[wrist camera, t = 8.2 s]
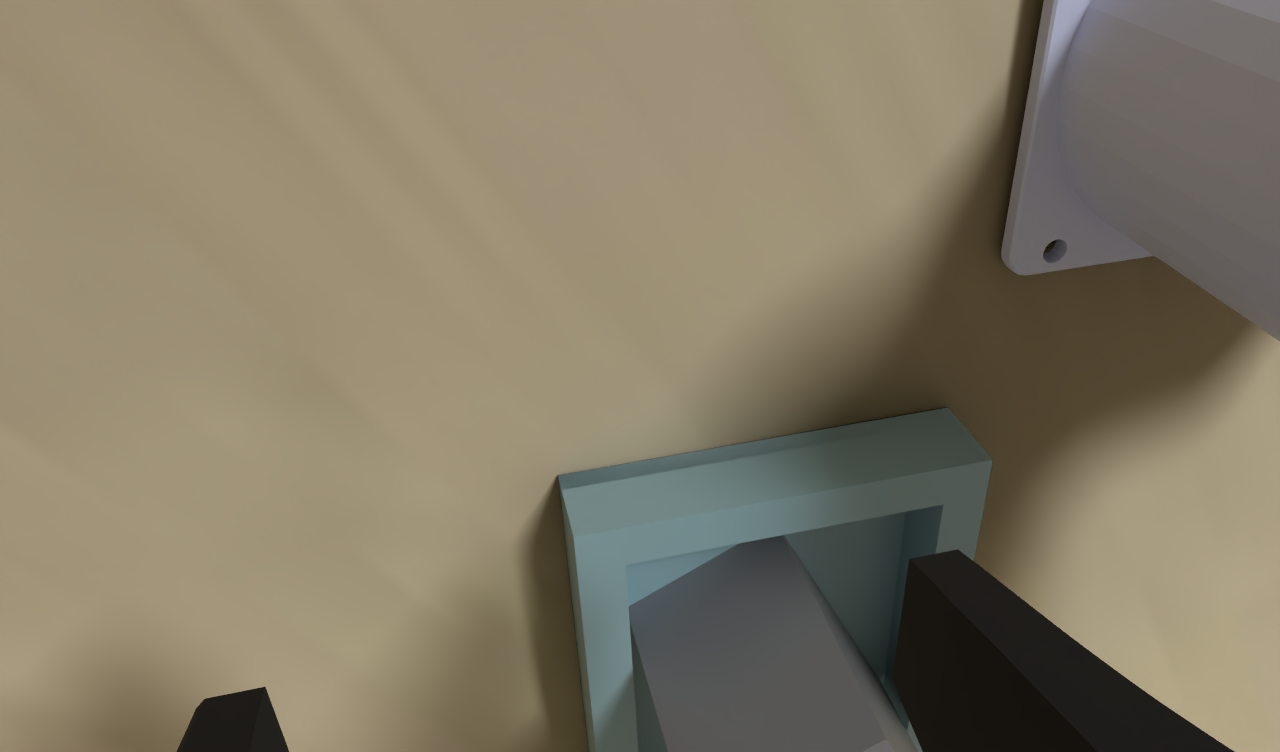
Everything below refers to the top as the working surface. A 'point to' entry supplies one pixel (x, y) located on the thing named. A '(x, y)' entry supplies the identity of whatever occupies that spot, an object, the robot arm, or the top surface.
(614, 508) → the service tray
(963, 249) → the top surface
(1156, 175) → the robot arm
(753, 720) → the block
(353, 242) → the top surface
